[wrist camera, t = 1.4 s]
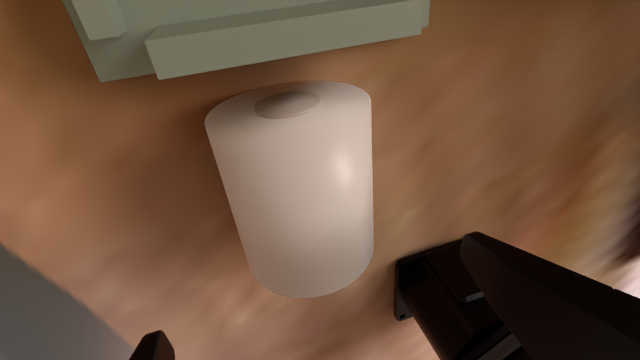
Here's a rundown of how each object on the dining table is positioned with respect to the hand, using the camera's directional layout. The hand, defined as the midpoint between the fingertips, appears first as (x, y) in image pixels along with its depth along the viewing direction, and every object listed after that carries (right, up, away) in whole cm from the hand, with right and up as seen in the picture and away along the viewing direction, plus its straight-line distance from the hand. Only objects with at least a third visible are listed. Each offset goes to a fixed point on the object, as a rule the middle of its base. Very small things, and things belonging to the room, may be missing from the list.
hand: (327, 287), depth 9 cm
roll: (-3, +4, +7) cm, 8 cm away
